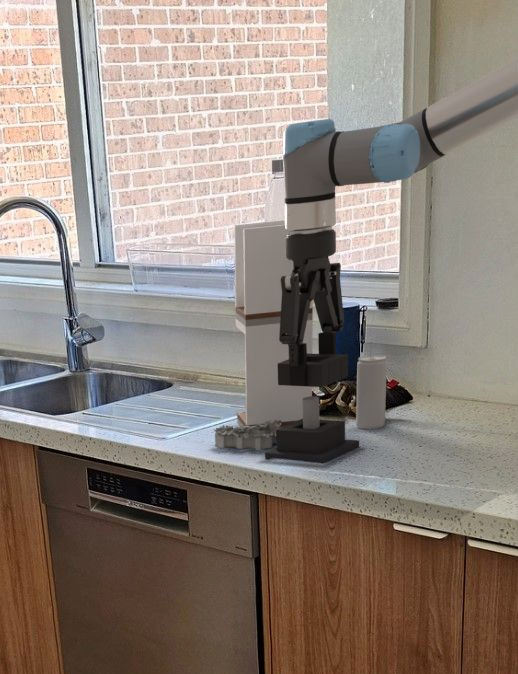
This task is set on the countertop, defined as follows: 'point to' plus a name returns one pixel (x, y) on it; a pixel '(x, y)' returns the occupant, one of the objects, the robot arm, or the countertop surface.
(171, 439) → the countertop surface
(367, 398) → the beverage can
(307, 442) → the black square ring block
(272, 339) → the striped white tower
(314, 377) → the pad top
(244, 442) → the egg carton
